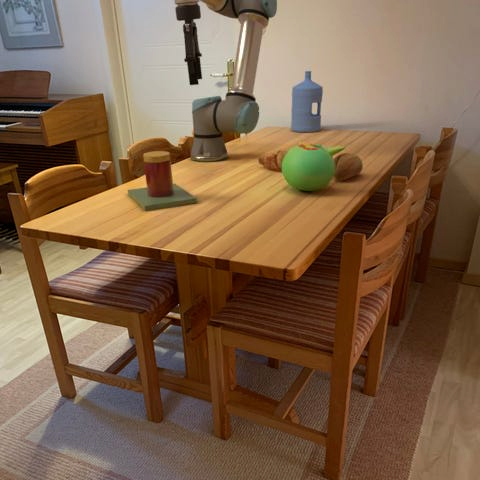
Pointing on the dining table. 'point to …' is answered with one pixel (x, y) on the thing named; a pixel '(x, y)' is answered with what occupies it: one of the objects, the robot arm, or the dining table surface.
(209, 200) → the dining table surface
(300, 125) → the water jug
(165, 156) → the jam lid
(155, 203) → the corner board
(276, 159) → the croissant
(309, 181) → the toy bird
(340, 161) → the bread roll
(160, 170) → the jam jar
